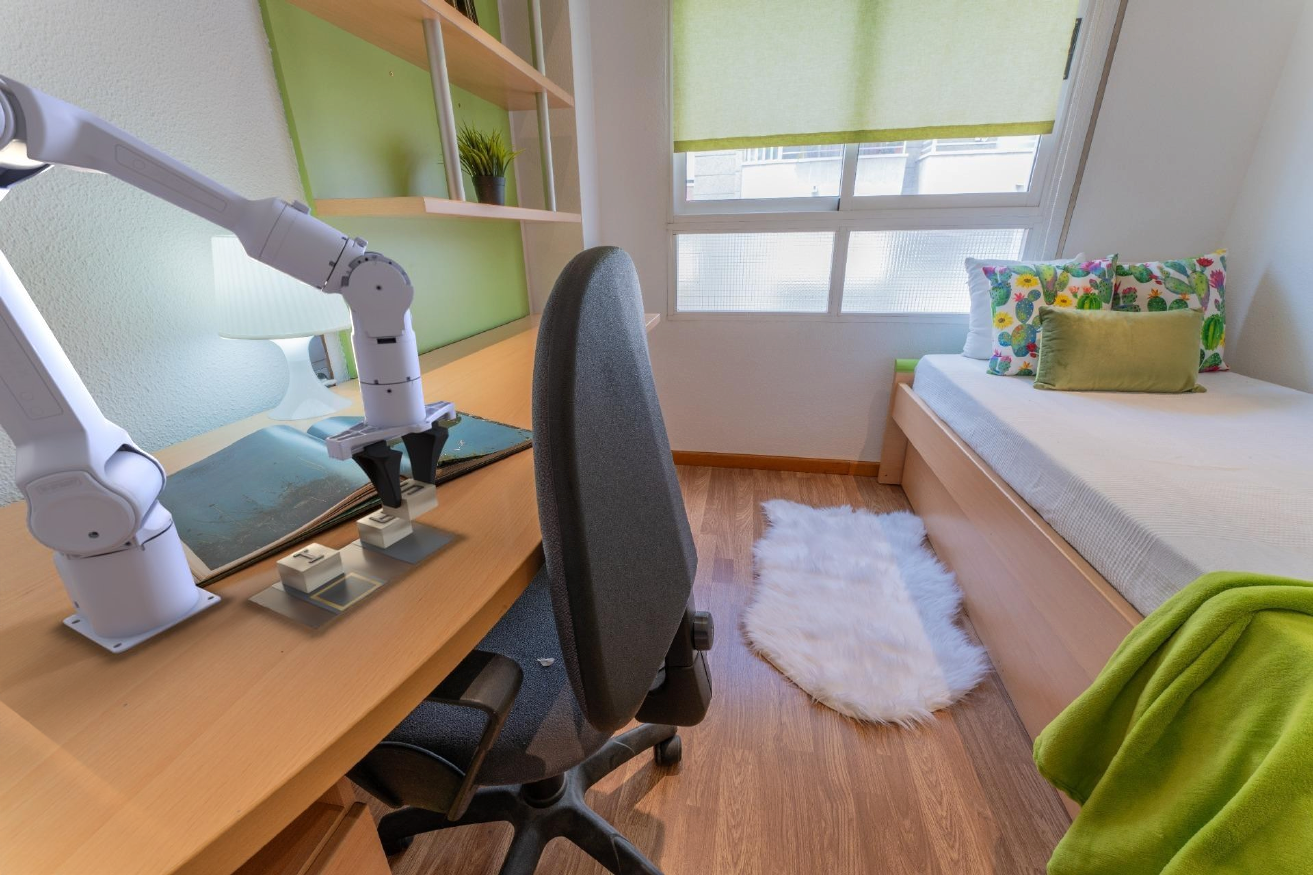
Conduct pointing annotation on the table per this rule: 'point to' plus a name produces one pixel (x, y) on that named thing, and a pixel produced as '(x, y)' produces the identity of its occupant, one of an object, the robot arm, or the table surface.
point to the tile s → (414, 500)
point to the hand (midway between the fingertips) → (408, 497)
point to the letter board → (354, 576)
